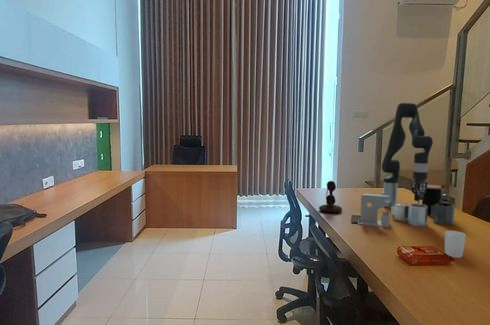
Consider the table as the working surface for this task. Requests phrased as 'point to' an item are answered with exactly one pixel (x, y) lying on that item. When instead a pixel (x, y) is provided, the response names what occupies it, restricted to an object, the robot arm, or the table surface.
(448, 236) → the white cup
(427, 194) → the coffee jar
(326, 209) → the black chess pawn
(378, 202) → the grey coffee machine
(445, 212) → the black press
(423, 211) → the steel press
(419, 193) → the plunger
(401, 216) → the mug
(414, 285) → the table surface
